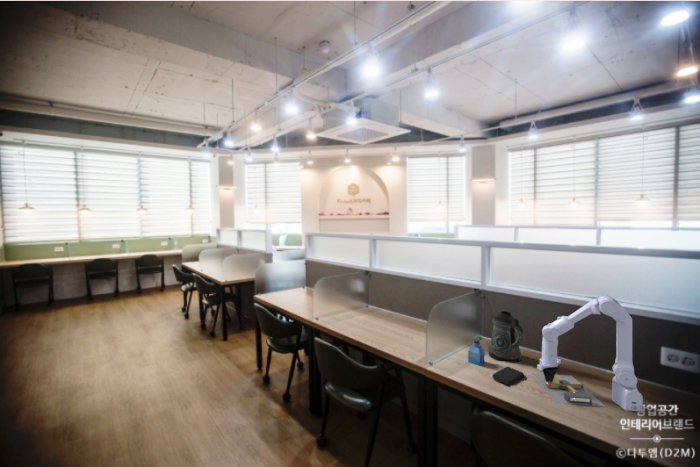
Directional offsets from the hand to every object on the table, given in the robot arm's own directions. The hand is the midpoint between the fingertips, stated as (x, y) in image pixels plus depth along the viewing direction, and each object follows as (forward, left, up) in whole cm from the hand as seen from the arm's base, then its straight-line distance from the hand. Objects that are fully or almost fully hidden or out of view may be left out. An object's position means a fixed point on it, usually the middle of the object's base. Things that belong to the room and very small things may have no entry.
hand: (548, 381), depth 137 cm
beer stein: (+27, +9, -2) cm, 29 cm away
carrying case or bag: (+4, +15, -2) cm, 16 cm away
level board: (-3, -5, -2) cm, 6 cm away
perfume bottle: (+19, +27, -2) cm, 33 cm away
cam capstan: (-3, -5, -1) cm, 6 cm away
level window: (-13, -5, -1) cm, 14 cm away
